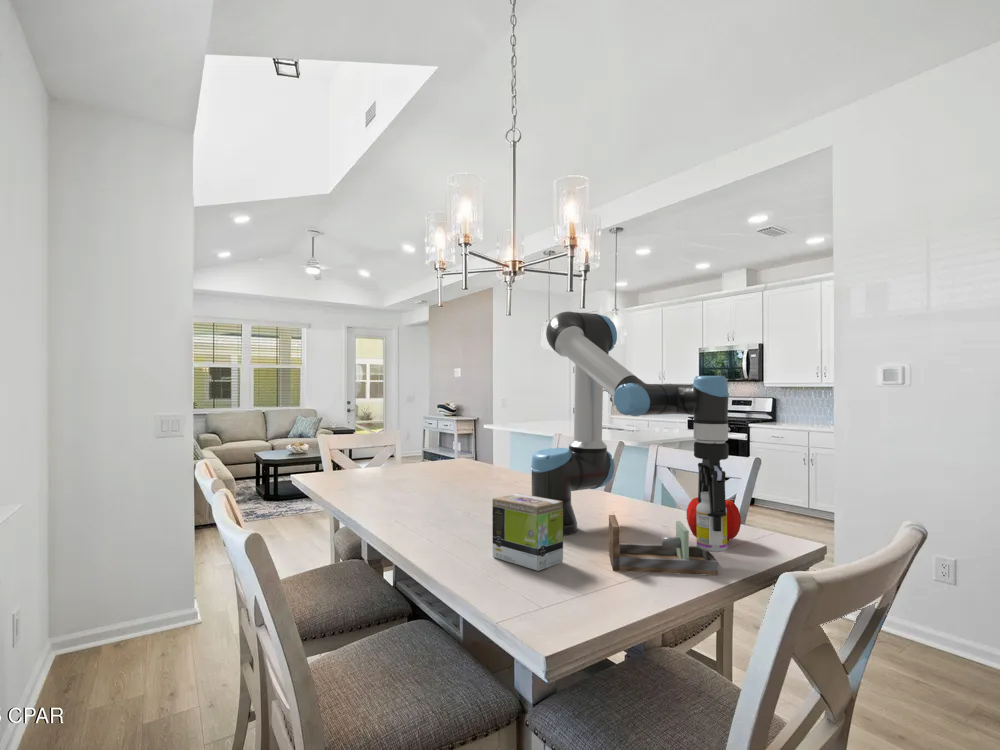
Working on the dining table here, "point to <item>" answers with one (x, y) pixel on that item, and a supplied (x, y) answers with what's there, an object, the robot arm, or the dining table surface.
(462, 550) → the dining table surface
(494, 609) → the dining table surface
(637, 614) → the dining table surface
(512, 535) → the tea box
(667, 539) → the pusher
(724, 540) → the supplement bottle
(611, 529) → the lane
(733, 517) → the tomato
